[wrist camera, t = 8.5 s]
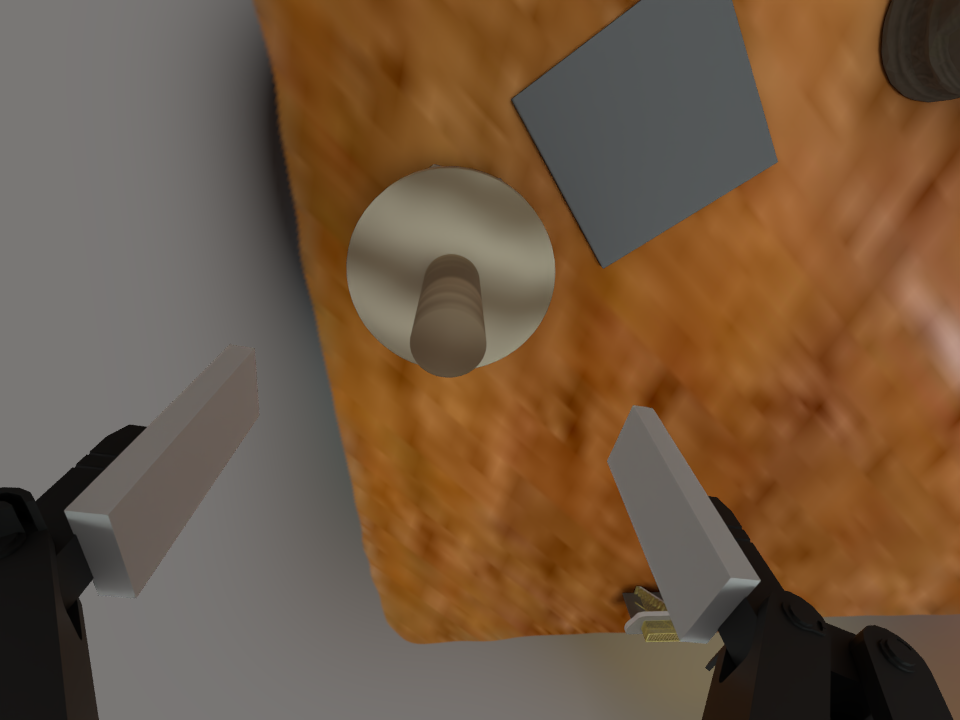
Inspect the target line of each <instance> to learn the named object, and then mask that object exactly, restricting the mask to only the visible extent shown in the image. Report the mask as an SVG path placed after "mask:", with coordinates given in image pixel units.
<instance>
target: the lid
mask: <svg viewBox="0 0 960 720" xmlns="http://www.w3.org/2000/svg"><path fill="white" fill-rule="evenodd" d="M347 280H348V287H349V291H350V295H351V298H352V301H353V304H354V306H355V308H356V311H357V313H358V315H359V316H360V318H361V320H362V321H363V323H364V325H365V326H366V327H367V328H368V330H369V331H370V332H371V333H372V335H373V336H374V337H375V338H376V339H377V340H378V341H379V342H380V343H381V344H383V345H384V346H385V347H387V348H388V349H389V350H390V351H392V352H393V353H395V354H397V355H398V356H400V357H402V358H404V359H406V360H408V361H410V362H412V363H415V364H418V365H419V366H420V367H422V368H423V369H424V370H425V371H427V372H429V373H431V374H433V375H436V376H440V377H458V376H462V375H464V374H467V373H469V372H470V371H472V370H473V369H474V368H477V367H481V366H485V365H488V364H490V363H493V362H496V361H498V360H500V359H501V358H503V357H505V356H507V355H509V354H510V353H512V352H513V351H515V350H516V349H517V348H518V347H520V346H521V345H522V344H523V343H524V342H525V341H526V340H527V339H528V338H529V337H530V336H531V335H532V334H533V333H534V331H535V330H536V329H537V327H538V326H539V324H540V323H541V321H542V319H543V317H544V315H545V314H546V312H547V309H548V306H549V304H550V301H551V298H552V293H553V289H554V281H555V260H554V255H553V249H552V245H551V242H550V239H549V236H548V234H547V232H546V229H545V227H544V225H543V223H542V221H541V220H540V218H539V217H538V216H537V214H536V213H535V211H534V210H533V208H532V207H531V206H530V205H529V204H528V202H527V201H526V200H525V199H524V198H523V197H522V196H521V195H520V194H519V193H518V192H517V191H516V190H514V189H513V188H512V187H511V186H509V185H508V184H506V183H505V182H503V181H502V180H500V179H498V178H496V177H494V176H492V175H490V174H487V173H485V172H482V171H478V170H475V169H472V168H465V167H458V166H441V167H434V168H427V169H424V170H420V171H417V172H414V173H412V174H409V175H407V176H405V177H403V178H401V179H399V180H398V181H396V182H395V183H393V184H392V185H390V186H389V187H388V188H386V189H385V190H384V191H383V192H382V193H381V194H380V195H379V196H378V197H376V198H375V199H374V200H373V202H372V203H371V204H370V205H369V206H368V208H367V209H366V210H365V211H364V213H363V215H362V216H361V218H360V219H359V221H358V223H357V225H356V227H355V229H354V232H353V234H352V237H351V241H350V244H349V248H348V255H347Z"/></svg>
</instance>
